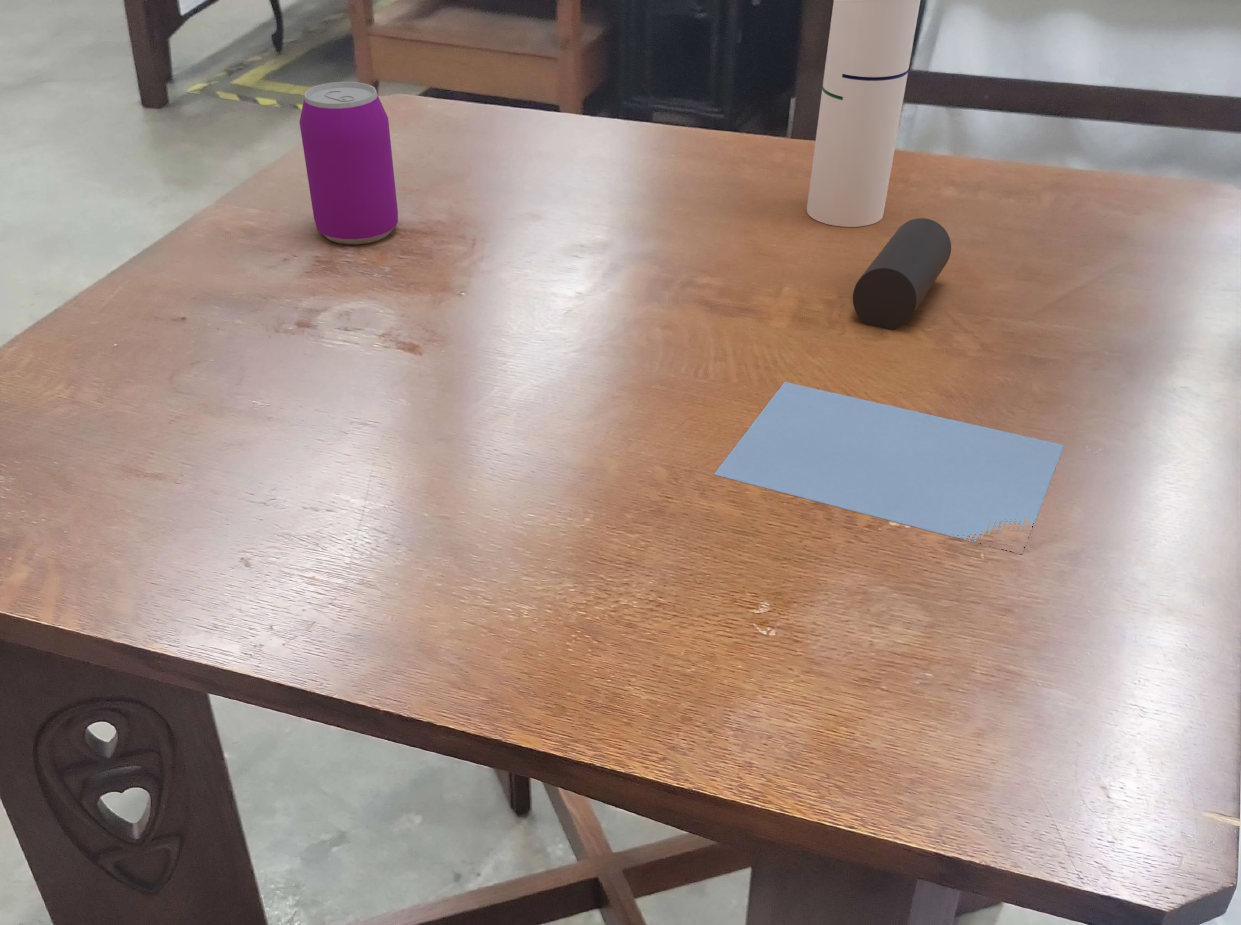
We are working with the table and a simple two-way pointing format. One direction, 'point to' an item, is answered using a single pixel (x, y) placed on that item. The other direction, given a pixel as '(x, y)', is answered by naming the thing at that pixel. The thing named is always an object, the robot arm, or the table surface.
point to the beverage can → (349, 162)
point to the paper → (893, 463)
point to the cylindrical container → (860, 109)
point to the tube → (902, 274)
